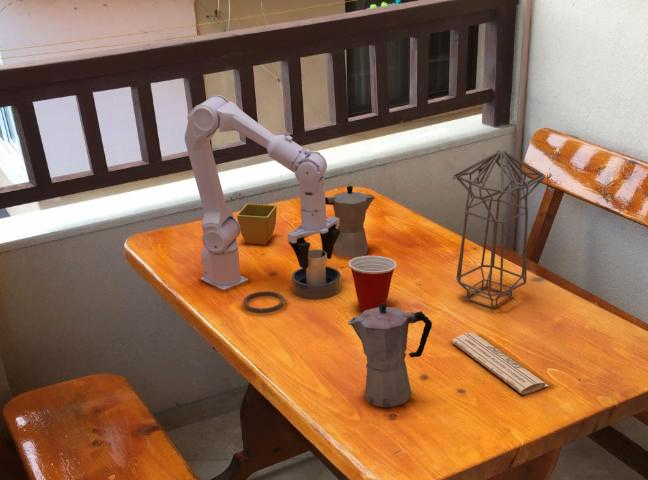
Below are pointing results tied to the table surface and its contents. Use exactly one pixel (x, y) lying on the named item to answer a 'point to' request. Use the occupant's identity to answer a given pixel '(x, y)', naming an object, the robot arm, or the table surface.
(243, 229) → the flower pot
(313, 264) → the clay pot
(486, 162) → the geometric lantern
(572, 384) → the table surface
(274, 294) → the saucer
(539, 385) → the newspaper
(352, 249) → the coffeepot
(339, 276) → the planter
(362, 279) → the plastic cup
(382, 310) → the moka pot
